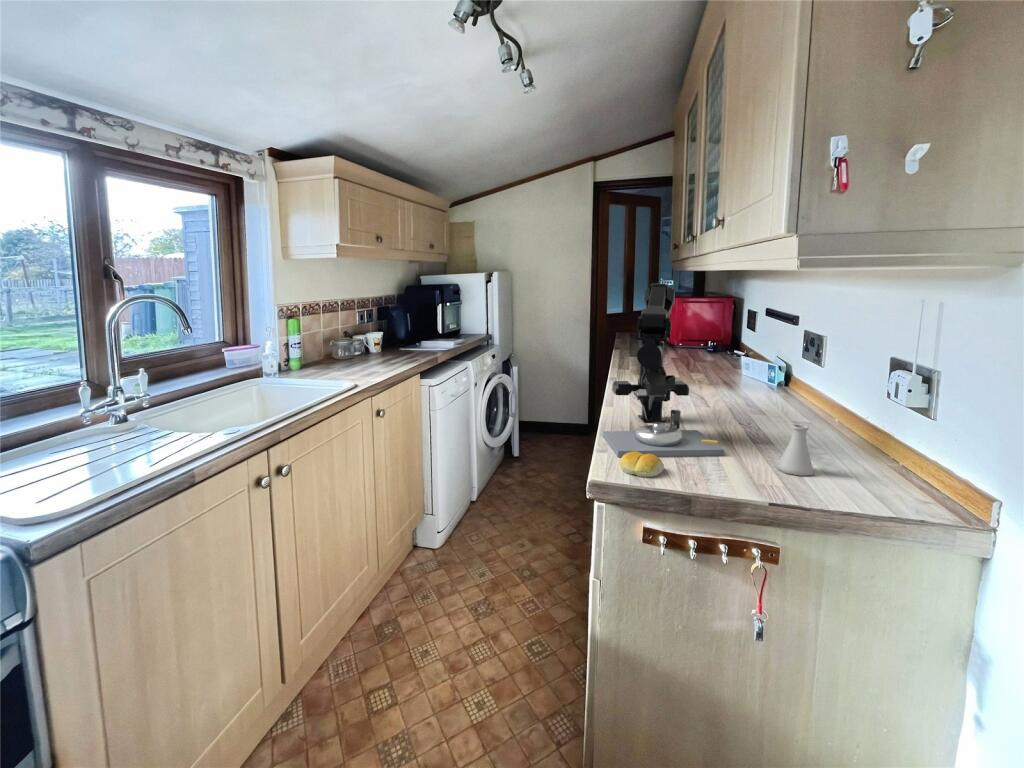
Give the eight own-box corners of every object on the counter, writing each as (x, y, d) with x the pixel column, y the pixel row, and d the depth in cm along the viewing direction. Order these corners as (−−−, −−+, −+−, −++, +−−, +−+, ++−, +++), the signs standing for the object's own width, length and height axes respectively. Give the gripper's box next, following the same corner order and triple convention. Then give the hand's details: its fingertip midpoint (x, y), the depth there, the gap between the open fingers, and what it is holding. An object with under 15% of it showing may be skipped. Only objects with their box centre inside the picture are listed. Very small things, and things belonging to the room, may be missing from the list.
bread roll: (629, 461, 116) (630, 444, 116) (667, 470, 111) (668, 452, 110) (612, 471, 110) (612, 453, 109) (651, 481, 104) (652, 462, 104)
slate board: (602, 436, 134) (603, 429, 133) (698, 435, 135) (698, 427, 135) (617, 457, 118) (618, 448, 118) (725, 455, 119) (726, 447, 119)
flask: (819, 478, 106) (825, 431, 104) (781, 475, 107) (787, 429, 105) (807, 466, 113) (812, 422, 111) (771, 463, 114) (776, 420, 112)
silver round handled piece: (669, 449, 119) (670, 426, 118) (627, 439, 126) (628, 418, 125) (697, 434, 130) (698, 413, 129) (657, 426, 137) (658, 406, 136)
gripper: (621, 366, 124) (618, 428, 127) (698, 366, 124) (693, 428, 127) (613, 359, 135) (610, 416, 138) (684, 359, 135) (680, 417, 138)
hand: (648, 420), depth 135 cm, fingers closed
